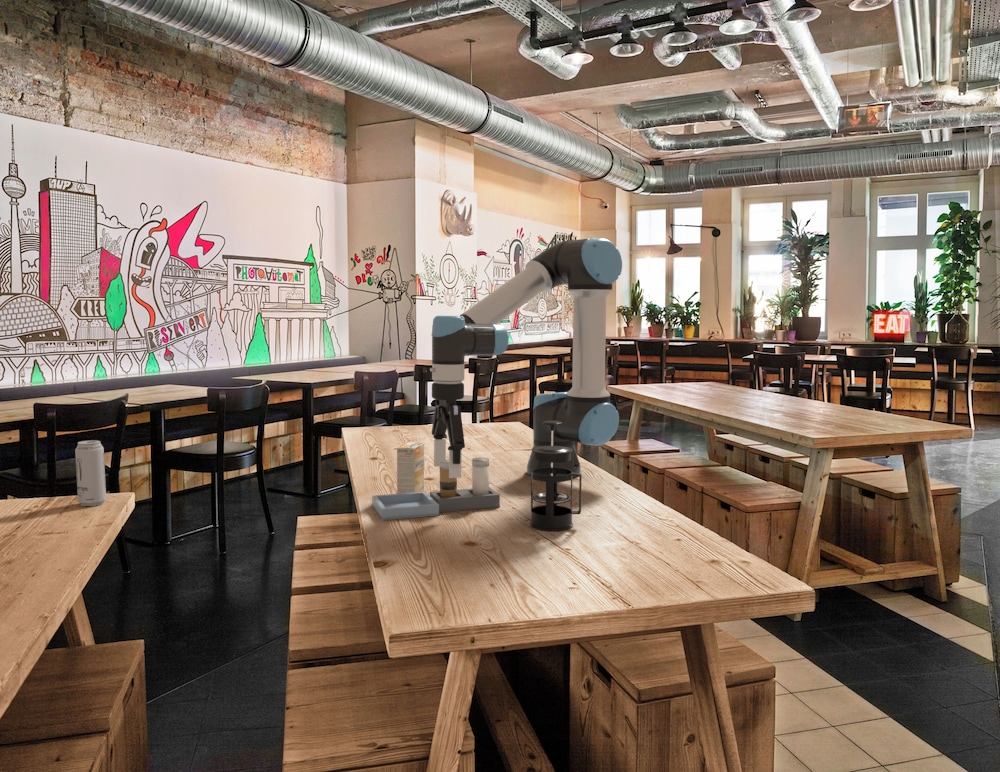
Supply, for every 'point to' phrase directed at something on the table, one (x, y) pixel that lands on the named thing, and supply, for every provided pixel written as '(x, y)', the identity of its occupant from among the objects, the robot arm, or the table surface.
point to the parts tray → (405, 505)
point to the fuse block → (466, 500)
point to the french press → (552, 488)
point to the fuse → (480, 476)
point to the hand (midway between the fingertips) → (447, 471)
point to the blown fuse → (447, 481)
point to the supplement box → (410, 468)
